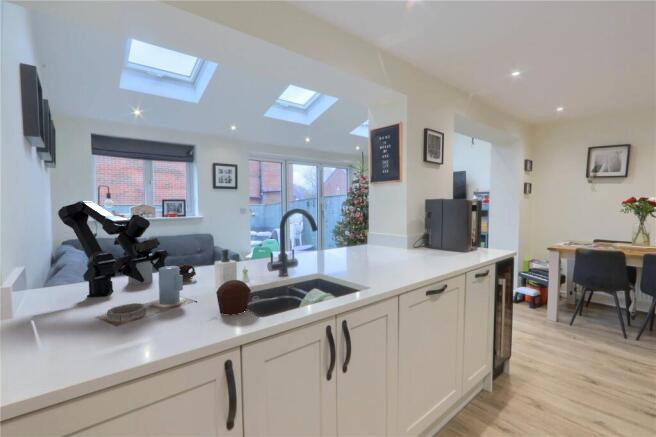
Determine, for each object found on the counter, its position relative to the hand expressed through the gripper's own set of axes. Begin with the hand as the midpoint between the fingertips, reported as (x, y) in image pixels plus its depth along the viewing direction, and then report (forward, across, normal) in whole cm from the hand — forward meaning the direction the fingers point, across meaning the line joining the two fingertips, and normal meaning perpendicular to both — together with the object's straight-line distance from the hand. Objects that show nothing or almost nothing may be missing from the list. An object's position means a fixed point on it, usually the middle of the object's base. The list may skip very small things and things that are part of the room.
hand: (155, 278), depth 108 cm
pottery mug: (-4, +28, +17) cm, 33 cm away
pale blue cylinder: (+11, 0, 0) cm, 11 cm away
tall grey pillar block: (-15, +20, +29) cm, 38 cm away
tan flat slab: (+10, -7, +2) cm, 12 cm away
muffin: (+28, +4, -15) cm, 32 cm away
